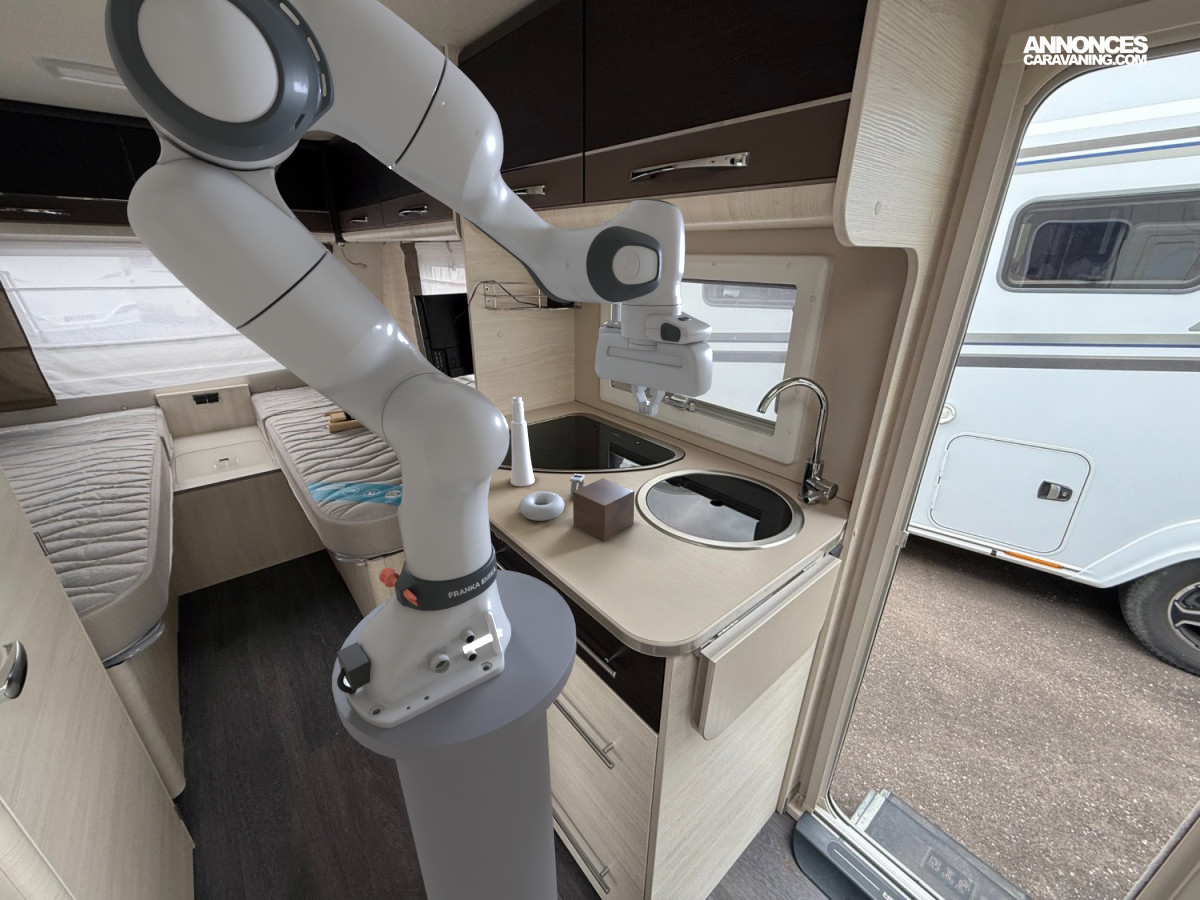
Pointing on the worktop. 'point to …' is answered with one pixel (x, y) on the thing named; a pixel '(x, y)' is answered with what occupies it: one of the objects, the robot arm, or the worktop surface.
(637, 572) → the worktop surface
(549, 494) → the donut
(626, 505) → the walnut block
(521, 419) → the cosmetic bottle
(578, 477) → the wristwatch
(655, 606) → the worktop surface
